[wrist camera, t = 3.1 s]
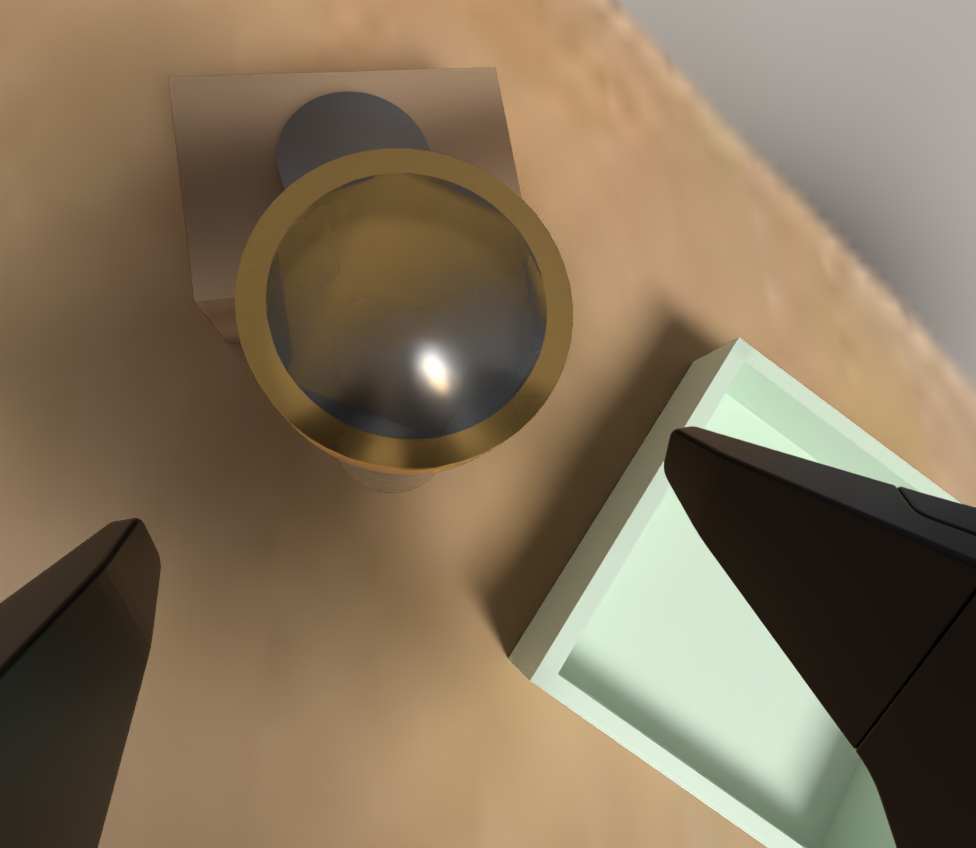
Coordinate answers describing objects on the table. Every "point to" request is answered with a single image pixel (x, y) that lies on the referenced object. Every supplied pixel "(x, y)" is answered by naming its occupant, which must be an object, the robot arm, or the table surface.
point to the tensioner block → (311, 147)
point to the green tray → (710, 626)
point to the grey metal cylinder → (403, 312)
